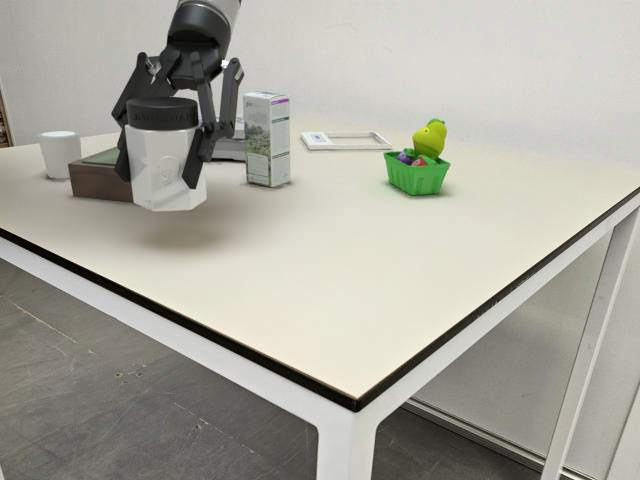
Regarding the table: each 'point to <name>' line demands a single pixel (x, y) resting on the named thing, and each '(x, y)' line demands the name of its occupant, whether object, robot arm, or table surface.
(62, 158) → the white cup
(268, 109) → the syrup box
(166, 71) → the robot arm
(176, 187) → the jar
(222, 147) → the grey plastic tool case
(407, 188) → the fruit basket
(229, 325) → the table surface
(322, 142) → the photo frame
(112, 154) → the shelf
